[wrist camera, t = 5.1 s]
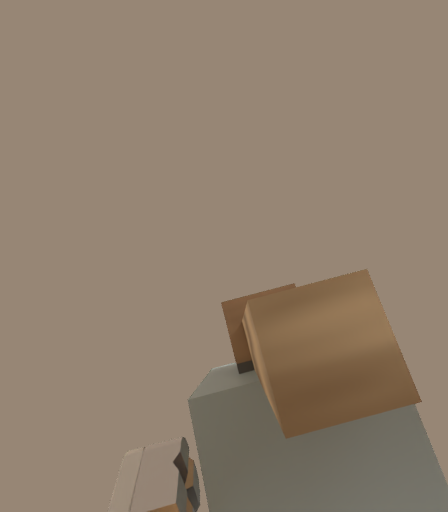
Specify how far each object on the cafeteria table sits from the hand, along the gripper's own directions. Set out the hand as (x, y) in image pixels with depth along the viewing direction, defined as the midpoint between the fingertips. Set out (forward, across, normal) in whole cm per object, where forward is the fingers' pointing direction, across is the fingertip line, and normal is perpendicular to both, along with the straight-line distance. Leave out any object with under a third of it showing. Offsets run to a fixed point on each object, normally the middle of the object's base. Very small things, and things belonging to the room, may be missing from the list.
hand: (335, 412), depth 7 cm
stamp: (+6, 0, +3) cm, 7 cm away
